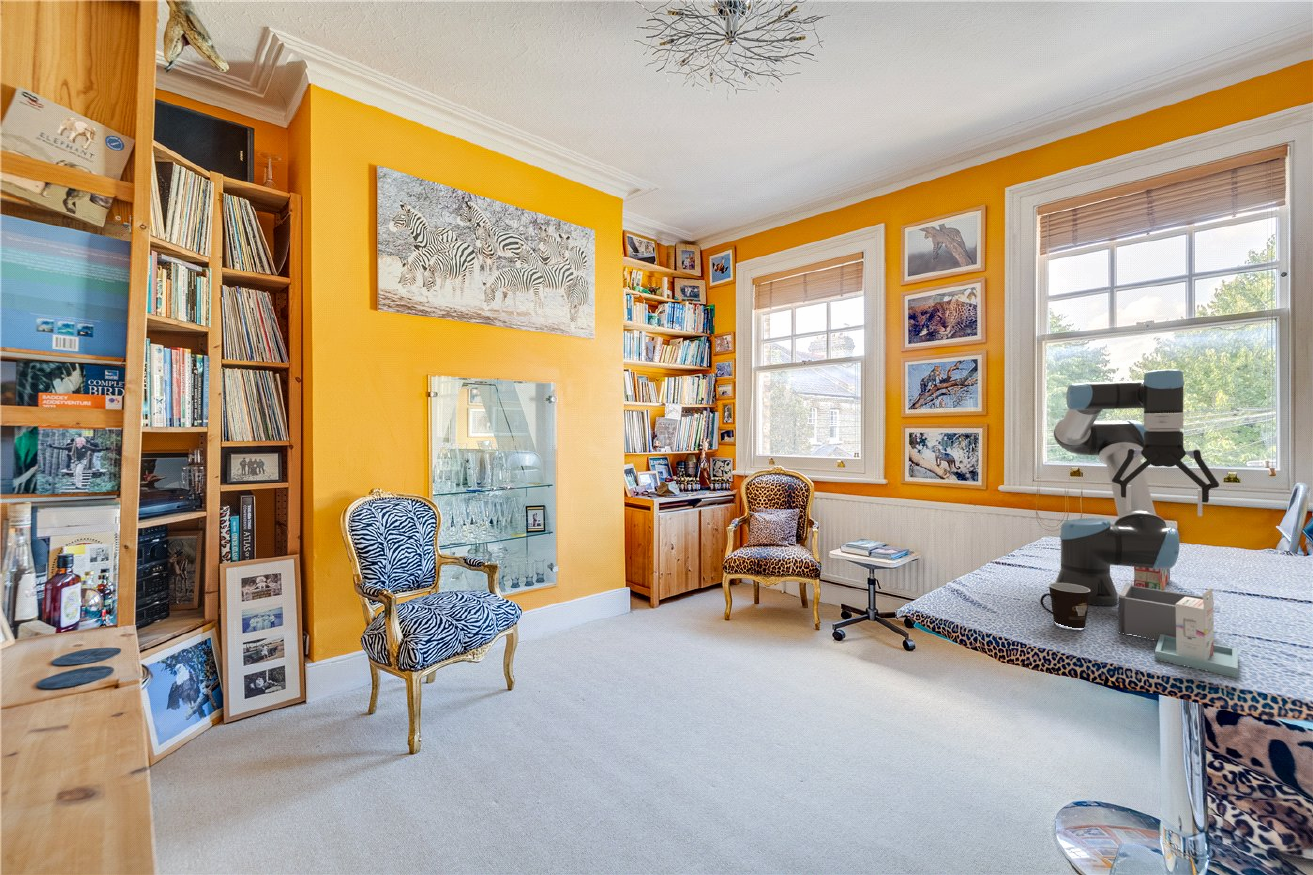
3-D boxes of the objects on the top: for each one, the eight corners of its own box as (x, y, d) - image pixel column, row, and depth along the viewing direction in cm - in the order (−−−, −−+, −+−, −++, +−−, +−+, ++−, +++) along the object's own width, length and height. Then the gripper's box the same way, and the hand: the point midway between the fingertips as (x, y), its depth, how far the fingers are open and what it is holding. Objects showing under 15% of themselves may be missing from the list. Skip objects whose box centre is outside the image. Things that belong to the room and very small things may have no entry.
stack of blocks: (1145, 575, 187) (1145, 539, 187) (1170, 579, 182) (1170, 542, 182) (1133, 589, 173) (1133, 549, 173) (1160, 593, 168) (1160, 553, 168)
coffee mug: (1082, 622, 146) (1082, 584, 146) (1096, 633, 138) (1096, 593, 138) (1031, 617, 150) (1030, 580, 149) (1041, 629, 142) (1041, 590, 141)
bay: (1118, 633, 138) (1118, 594, 138) (1126, 618, 148) (1126, 582, 148) (1210, 651, 126) (1210, 609, 126) (1211, 634, 136) (1212, 595, 136)
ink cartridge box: (1184, 646, 127) (1184, 582, 127) (1214, 653, 123) (1214, 587, 123) (1174, 656, 122) (1174, 589, 122) (1205, 663, 118) (1206, 595, 118)
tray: (1154, 659, 122) (1154, 650, 122) (1160, 642, 132) (1160, 634, 132) (1237, 678, 113) (1237, 668, 113) (1237, 657, 123) (1237, 648, 123)
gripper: (1099, 430, 149) (1099, 509, 150) (1233, 430, 131) (1232, 519, 132) (1103, 430, 154) (1103, 506, 155) (1233, 429, 136) (1232, 515, 137)
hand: (1163, 512), depth 143 cm, fingers open, 13 cm apart
